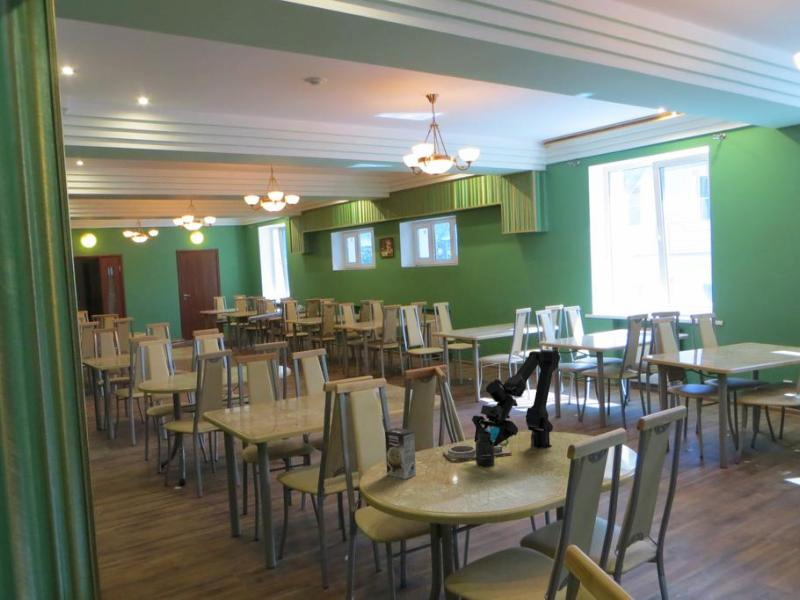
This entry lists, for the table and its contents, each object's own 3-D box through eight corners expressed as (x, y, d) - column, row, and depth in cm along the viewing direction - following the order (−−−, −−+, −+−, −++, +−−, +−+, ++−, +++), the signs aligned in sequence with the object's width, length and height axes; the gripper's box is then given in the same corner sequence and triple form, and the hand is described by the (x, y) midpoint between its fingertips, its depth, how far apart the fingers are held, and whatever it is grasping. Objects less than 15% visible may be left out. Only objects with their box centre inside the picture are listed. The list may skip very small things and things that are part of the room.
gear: (479, 438, 277) (490, 419, 281) (484, 446, 281) (495, 426, 285) (501, 446, 270) (512, 426, 274) (506, 453, 273) (517, 433, 277)
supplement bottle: (486, 468, 241) (484, 436, 240) (472, 465, 246) (471, 433, 245) (498, 464, 245) (497, 432, 245) (484, 461, 250) (483, 429, 250)
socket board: (499, 447, 268) (499, 440, 268) (511, 454, 257) (511, 447, 257) (443, 454, 262) (442, 446, 262) (453, 462, 251) (452, 454, 251)
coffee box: (386, 475, 239) (383, 431, 239) (398, 470, 244) (396, 427, 243) (404, 479, 233) (402, 434, 232) (416, 474, 238) (414, 430, 237)
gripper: (473, 394, 255) (454, 427, 248) (511, 399, 241) (493, 435, 234) (487, 411, 261) (470, 444, 254) (526, 417, 247) (508, 452, 240)
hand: (484, 443), depth 245 cm, fingers open, 9 cm apart
